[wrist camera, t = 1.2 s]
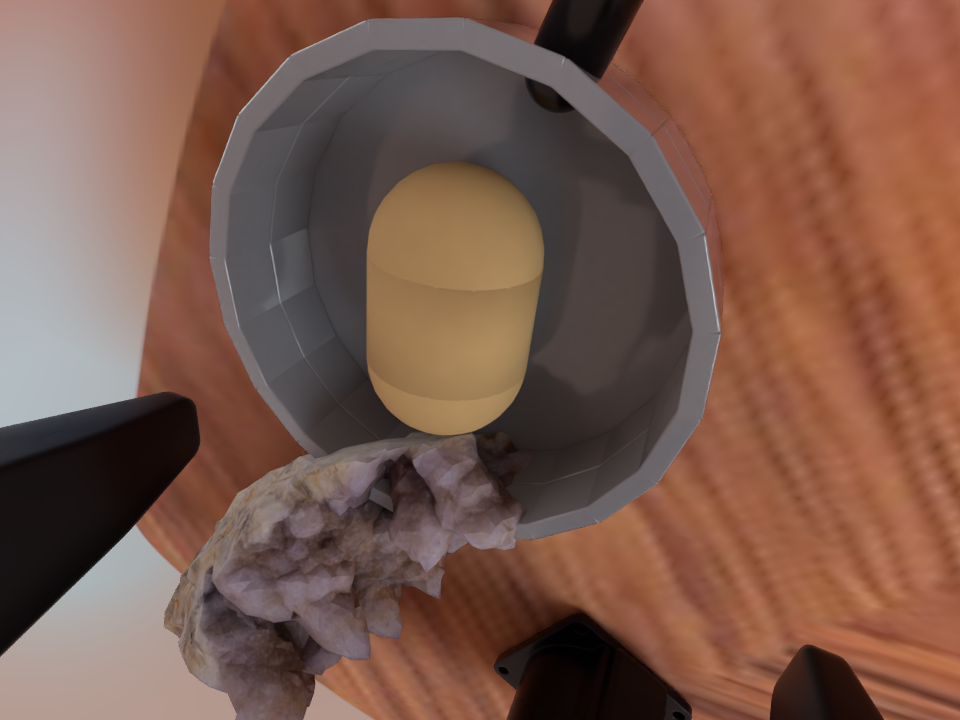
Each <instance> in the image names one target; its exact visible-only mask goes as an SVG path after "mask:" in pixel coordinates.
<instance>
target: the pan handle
mask: <svg viewBox="0 0 960 720" xmlns="http://www.w3.org/2000/svg"><path fill="white" fill-rule="evenodd" d="M643 1H644V0H553V1H552V3H551V5H550V7H549V9H548V12H547V14H546V16H545V18H544V21H543V23H542V25H541V27H540V29H539V32H538V34H537V36H536V38H535V40H534V42H535V43H537V44H538V45H540V46H542V47H544V48H547V49H549V50H551V51H553V52H556V53H558V54H561V55H563V56H565V57H566V58H569V59H570V60H572V61H573V62H574V63H575V64H577V65H578V66H579V67H581V68H582V69H583V70H585V71H586V72H588V73H589V74H591V75H593V76H594V77H597V78H599V79H602V77H603V75H604V73H605V72H606V70H607V68H608V66H609V64H610V62H611V60H612V59H613V57H614V55H615V53H616V51H617V49H618V47H619V45H620V44H621V42H622V40H623V38H624V36H625V34H626V32H627V31H628V29H629V27H630V25H631V23H632V21H633V19H634V17H635V16H636V14H637V12H638V10H639V8H640V6H641V4H642V3H643ZM524 79H525V84H526V88H527V90H528V93H529V95H530V96H531V98H532V99H533V101H534V102H535V103H536V104H537V105H539V106H540V107H541V108H543V109H544V110H546V111H549V112H553V113H567V112H571V111H574V110H576V109H575V108H574V107H573V106H572V105H570V104H569V103H568V102H567V101H566V100H565V99H564V98H563V97H562V96H560V95H559V94H558V93H557V92H556V91H555V90H554V89H553V88H551V87H549V86H547V85H544V84H542V83H539V82H537V81H534V80H532V79H529V78H527V77H524Z"/></svg>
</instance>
